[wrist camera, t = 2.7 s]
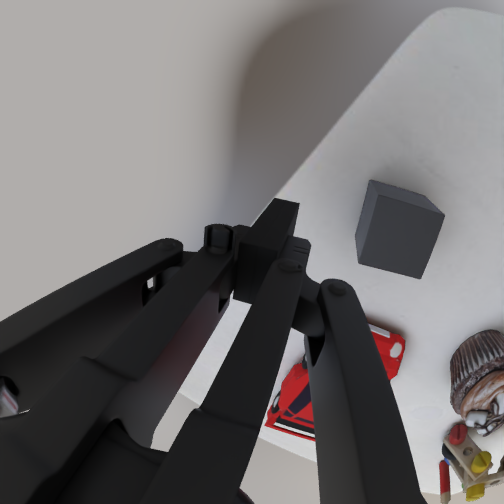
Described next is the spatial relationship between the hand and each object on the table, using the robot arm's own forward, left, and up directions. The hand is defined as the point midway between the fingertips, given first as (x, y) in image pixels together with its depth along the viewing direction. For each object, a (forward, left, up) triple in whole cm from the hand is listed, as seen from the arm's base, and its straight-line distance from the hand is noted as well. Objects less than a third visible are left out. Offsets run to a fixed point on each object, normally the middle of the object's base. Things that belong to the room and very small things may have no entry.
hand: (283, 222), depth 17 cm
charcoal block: (+1, +8, -7) cm, 10 cm away
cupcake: (+16, +23, -7) cm, 29 cm away
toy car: (+21, +5, -7) cm, 23 cm away
